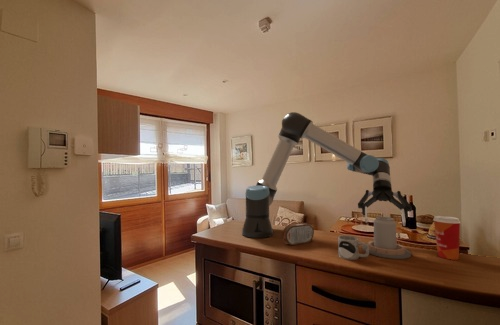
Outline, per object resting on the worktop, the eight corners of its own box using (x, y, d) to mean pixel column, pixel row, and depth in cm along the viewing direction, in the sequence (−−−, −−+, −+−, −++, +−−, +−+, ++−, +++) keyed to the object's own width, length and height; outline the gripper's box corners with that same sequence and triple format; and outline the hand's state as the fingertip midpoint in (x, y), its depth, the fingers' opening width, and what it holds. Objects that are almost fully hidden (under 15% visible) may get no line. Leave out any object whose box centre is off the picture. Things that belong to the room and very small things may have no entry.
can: (390, 246, 92) (389, 216, 93) (401, 252, 85) (400, 219, 86) (370, 245, 93) (370, 215, 94) (379, 252, 86) (378, 219, 86)
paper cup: (432, 252, 88) (431, 214, 89) (459, 255, 84) (457, 216, 85) (436, 258, 81) (434, 218, 82) (465, 262, 78) (463, 220, 78)
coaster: (356, 251, 88) (356, 245, 88) (368, 242, 100) (368, 237, 100) (407, 262, 78) (407, 255, 78) (414, 250, 89) (413, 244, 90)
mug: (336, 257, 82) (336, 238, 83) (340, 252, 88) (340, 234, 88) (367, 263, 77) (367, 243, 77) (370, 257, 82) (370, 238, 83)
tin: (310, 240, 104) (310, 221, 104) (315, 242, 101) (315, 222, 101) (282, 244, 97) (281, 224, 98) (286, 247, 94) (286, 226, 95)
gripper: (413, 190, 106) (420, 230, 92) (353, 188, 118) (352, 224, 104) (414, 179, 102) (422, 219, 88) (352, 178, 113) (351, 214, 99)
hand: (384, 222), depth 96 cm, fingers open, 13 cm apart
